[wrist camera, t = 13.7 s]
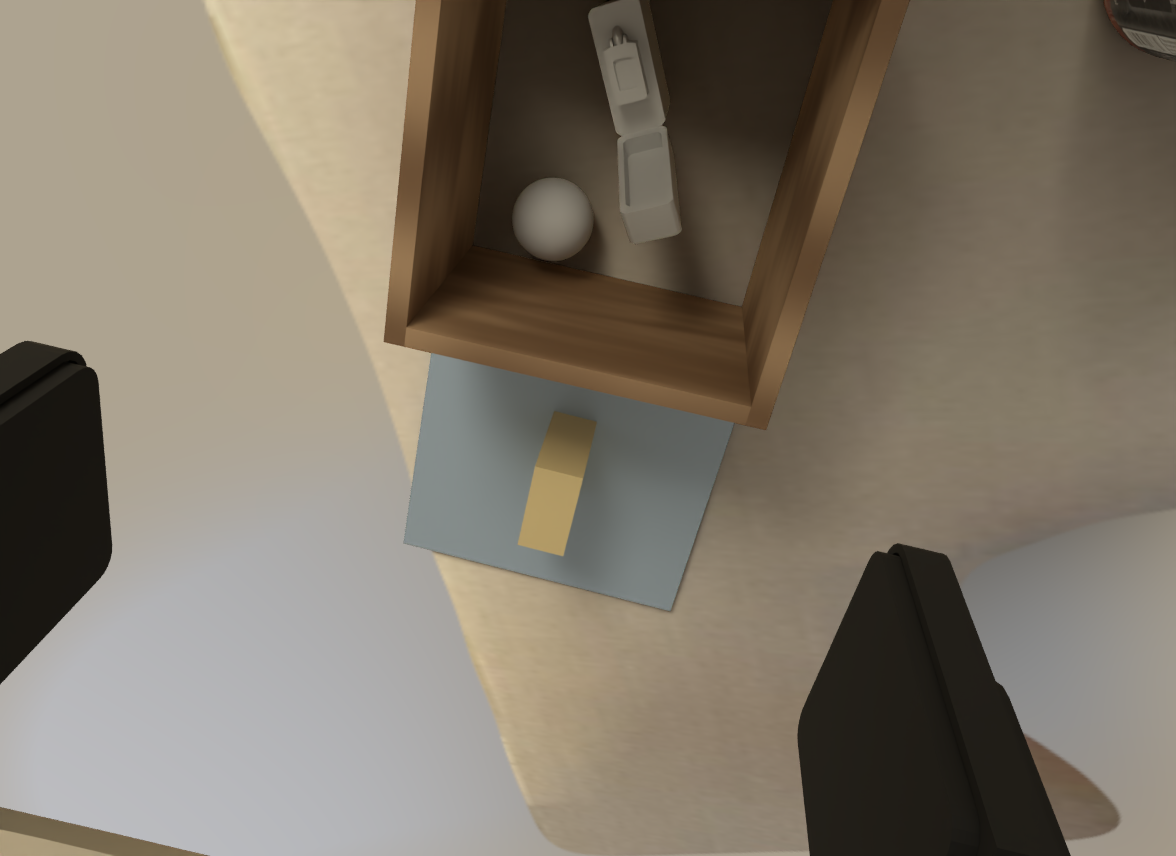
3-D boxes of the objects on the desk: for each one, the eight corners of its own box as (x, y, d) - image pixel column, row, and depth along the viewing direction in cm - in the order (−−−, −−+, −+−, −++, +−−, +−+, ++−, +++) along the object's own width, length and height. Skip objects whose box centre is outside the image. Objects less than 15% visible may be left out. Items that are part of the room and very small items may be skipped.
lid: (450, 259, 39) (409, 307, 34) (759, 337, 39) (766, 398, 34) (409, 531, 46) (370, 606, 41) (671, 598, 46) (665, 682, 41)
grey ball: (527, 161, 36) (511, 179, 33) (605, 179, 36) (596, 198, 33) (514, 238, 38) (499, 261, 35) (589, 255, 38) (579, 279, 35)
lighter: (600, 3, 33) (570, 17, 26) (646, -10, 33) (628, 0, 26) (645, 192, 36) (628, 250, 29) (687, 182, 36) (681, 238, 29)
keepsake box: (503, -121, 32) (430, -148, 23) (865, -40, 32) (922, -38, 23) (454, 257, 38) (383, 341, 30) (753, 325, 38) (765, 430, 30)
